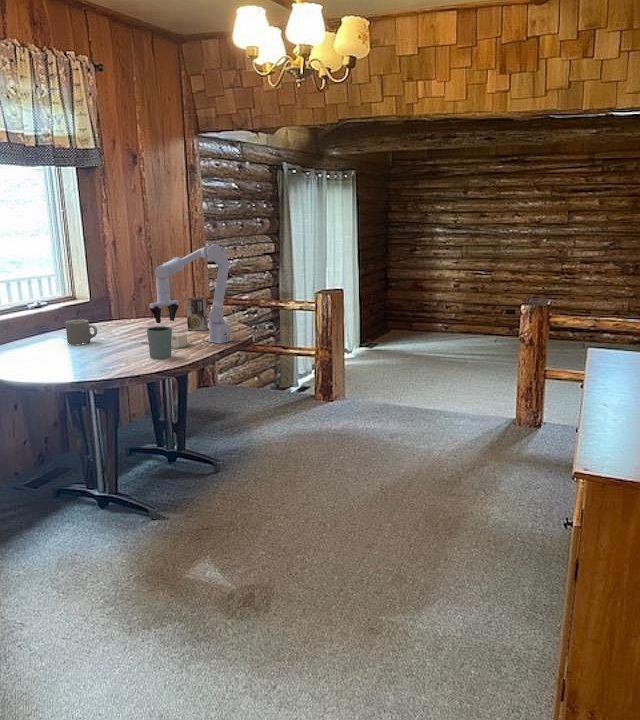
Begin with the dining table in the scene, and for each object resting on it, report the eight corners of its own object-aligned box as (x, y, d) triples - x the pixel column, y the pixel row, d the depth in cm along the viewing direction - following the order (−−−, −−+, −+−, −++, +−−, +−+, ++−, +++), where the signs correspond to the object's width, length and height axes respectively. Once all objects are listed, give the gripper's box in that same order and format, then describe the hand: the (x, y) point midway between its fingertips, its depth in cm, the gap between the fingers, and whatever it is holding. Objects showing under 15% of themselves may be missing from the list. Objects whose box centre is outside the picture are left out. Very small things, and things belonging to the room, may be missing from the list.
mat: (193, 345, 286) (193, 344, 286) (174, 349, 277) (174, 348, 277) (160, 339, 300) (160, 338, 300) (141, 343, 292) (140, 342, 292)
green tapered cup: (152, 354, 269) (150, 326, 266) (176, 354, 268) (174, 326, 266) (145, 359, 259) (143, 330, 256) (170, 359, 259) (168, 330, 256)
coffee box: (208, 328, 326) (206, 297, 322) (204, 331, 319) (203, 299, 316) (191, 328, 326) (189, 297, 323) (187, 331, 320) (185, 299, 317)
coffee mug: (63, 345, 290) (61, 323, 288) (73, 340, 299) (71, 319, 297) (92, 345, 289) (90, 323, 287) (101, 340, 299) (99, 319, 296)
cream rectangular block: (187, 345, 284) (186, 334, 283) (178, 347, 280) (177, 336, 279) (173, 342, 290) (172, 331, 289) (164, 344, 286) (163, 333, 285)
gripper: (170, 290, 295) (172, 318, 298) (144, 293, 284) (146, 323, 287) (180, 291, 290) (182, 320, 293) (154, 294, 279) (156, 324, 282)
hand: (165, 321), depth 290 cm, fingers open, 7 cm apart
